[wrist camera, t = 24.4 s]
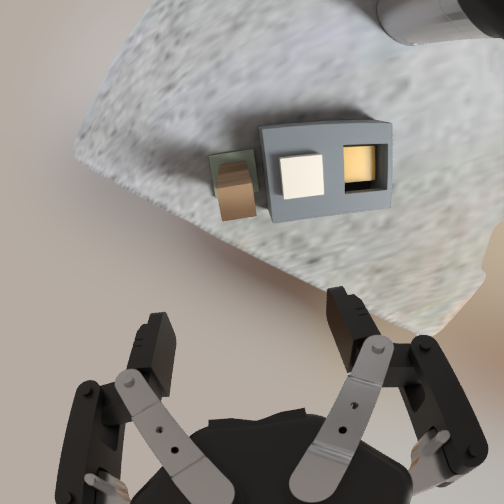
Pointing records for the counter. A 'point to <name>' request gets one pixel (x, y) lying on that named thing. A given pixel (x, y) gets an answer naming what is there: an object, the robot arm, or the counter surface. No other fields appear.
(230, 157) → the rubber mat
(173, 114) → the counter surface
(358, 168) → the plunger
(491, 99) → the counter surface
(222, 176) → the tall wooden block
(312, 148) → the switch panel
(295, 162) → the on button
